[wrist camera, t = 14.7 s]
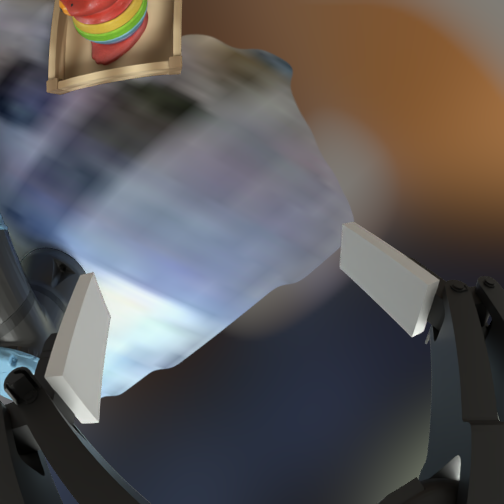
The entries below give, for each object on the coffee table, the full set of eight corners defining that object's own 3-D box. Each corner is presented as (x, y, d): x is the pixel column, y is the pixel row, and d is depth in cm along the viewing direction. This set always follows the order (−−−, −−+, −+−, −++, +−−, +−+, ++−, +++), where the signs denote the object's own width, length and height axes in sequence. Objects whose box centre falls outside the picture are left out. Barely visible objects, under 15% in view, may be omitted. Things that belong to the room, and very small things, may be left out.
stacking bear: (71, 22, 25) (25, -22, 9) (132, -15, 25) (118, -78, 10) (100, 71, 30) (57, 42, 15) (162, 33, 30) (162, -20, 15)
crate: (60, 94, 30) (46, 92, 26) (67, -7, 22) (57, -19, 18) (180, 73, 35) (182, 67, 30) (182, -27, 27) (185, -43, 22)
